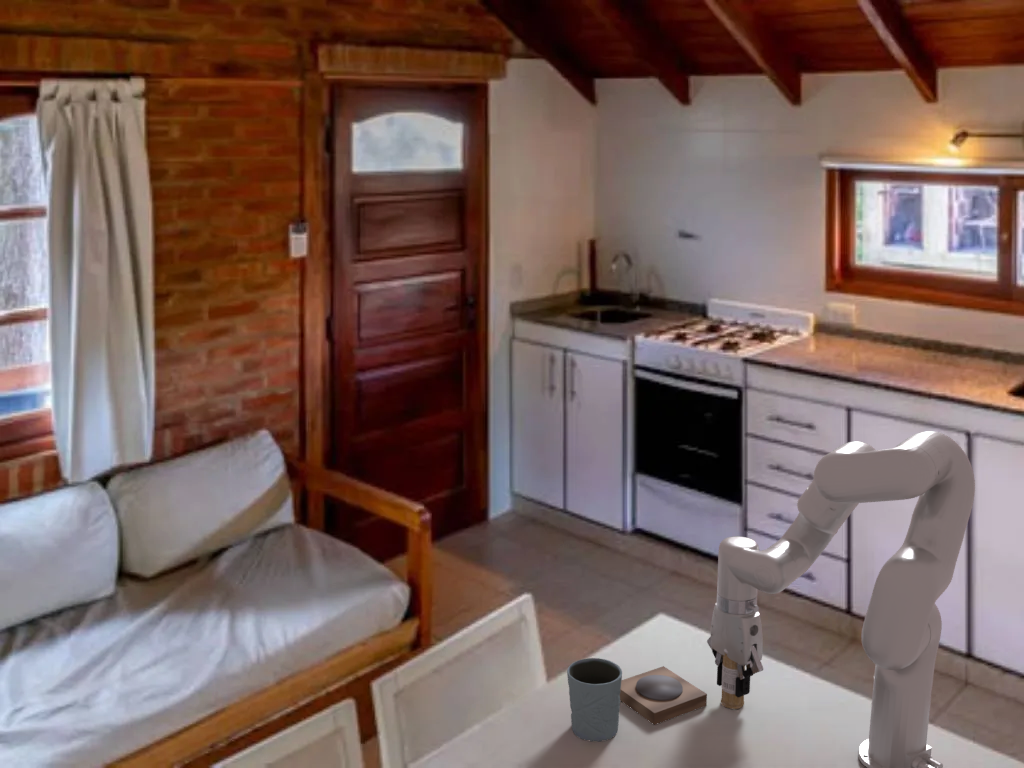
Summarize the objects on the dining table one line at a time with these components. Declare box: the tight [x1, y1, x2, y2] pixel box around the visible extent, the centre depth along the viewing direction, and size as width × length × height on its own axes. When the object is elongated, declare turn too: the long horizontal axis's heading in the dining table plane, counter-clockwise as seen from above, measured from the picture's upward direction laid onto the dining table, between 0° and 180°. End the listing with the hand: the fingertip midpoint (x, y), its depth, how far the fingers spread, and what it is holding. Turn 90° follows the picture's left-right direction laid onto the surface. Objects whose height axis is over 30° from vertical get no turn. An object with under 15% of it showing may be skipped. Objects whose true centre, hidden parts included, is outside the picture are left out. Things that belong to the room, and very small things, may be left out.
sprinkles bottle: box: [720, 649, 746, 710], centre depth 209 cm, size 5×5×14 cm
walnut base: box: [620, 665, 708, 726], centre depth 212 cm, size 13×13×3 cm
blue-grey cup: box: [566, 657, 623, 742], centre depth 201 cm, size 10×10×12 cm
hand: (733, 688), depth 210 cm, fingers closed on sprinkles bottle, 4 cm apart
